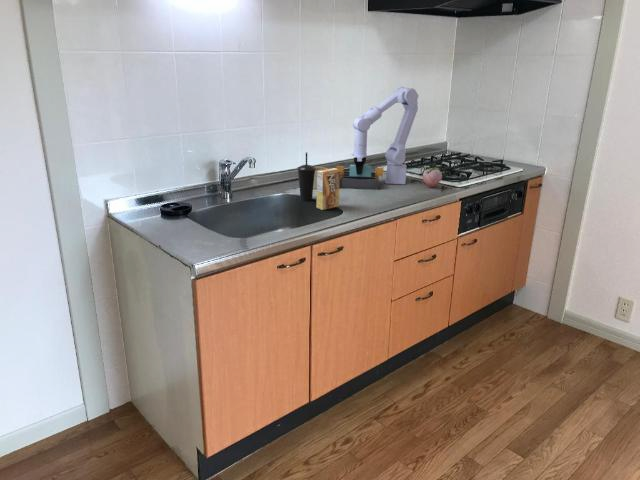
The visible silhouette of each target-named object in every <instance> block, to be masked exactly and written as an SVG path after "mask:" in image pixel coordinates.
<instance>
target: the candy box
mask: <svg viewBox="0 0 640 480" xmlns="http://www.w3.org/2000/svg"><path fill="white" fill-rule="evenodd" d="M340 189H341V188H340V170H339V169H336V167H335V168H334V167H333V168H327V169H326V170H320V171H317V189H316V208H317V209H319V210H321V211H324V210H328V209H333V208H337V207H339V206H340Z"/></svg>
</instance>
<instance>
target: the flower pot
mask: <svg viewBox="0 0 640 480" xmlns="http://www.w3.org/2000/svg"><path fill="white" fill-rule="evenodd" d="M314 167H315V168H316V169H315V175H314V185H313V190H317V171H320V170H326V169H328V168H327V167H321V166H314Z"/></svg>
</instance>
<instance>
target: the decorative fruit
mask: <svg viewBox="0 0 640 480" xmlns="http://www.w3.org/2000/svg"><path fill="white" fill-rule="evenodd" d="M442 178H443V174H442V172H441V169H440V168H439V167H435V166H432V167H431V168H426V169H425V171H423V173H422V181H423V182H424V183H425V185H426V186H428V187H430V188H434V187H435V186H437V185H438V184H439V183H440V182H441V180H442Z"/></svg>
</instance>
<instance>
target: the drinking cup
mask: <svg viewBox="0 0 640 480" xmlns="http://www.w3.org/2000/svg"><path fill="white" fill-rule="evenodd" d="M315 167H316V166H314V165H311V164H308V152H306V151H305V164H302V165H300V166H298V167H297V168H296V169H297V172H298V173H297V174H298V183H299V184H298V186H299V195H300V197H299V198H300V201H303V202H310V201H312V200H313V194H314V189H313V185H314V175H315V169H316V168H315Z"/></svg>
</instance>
